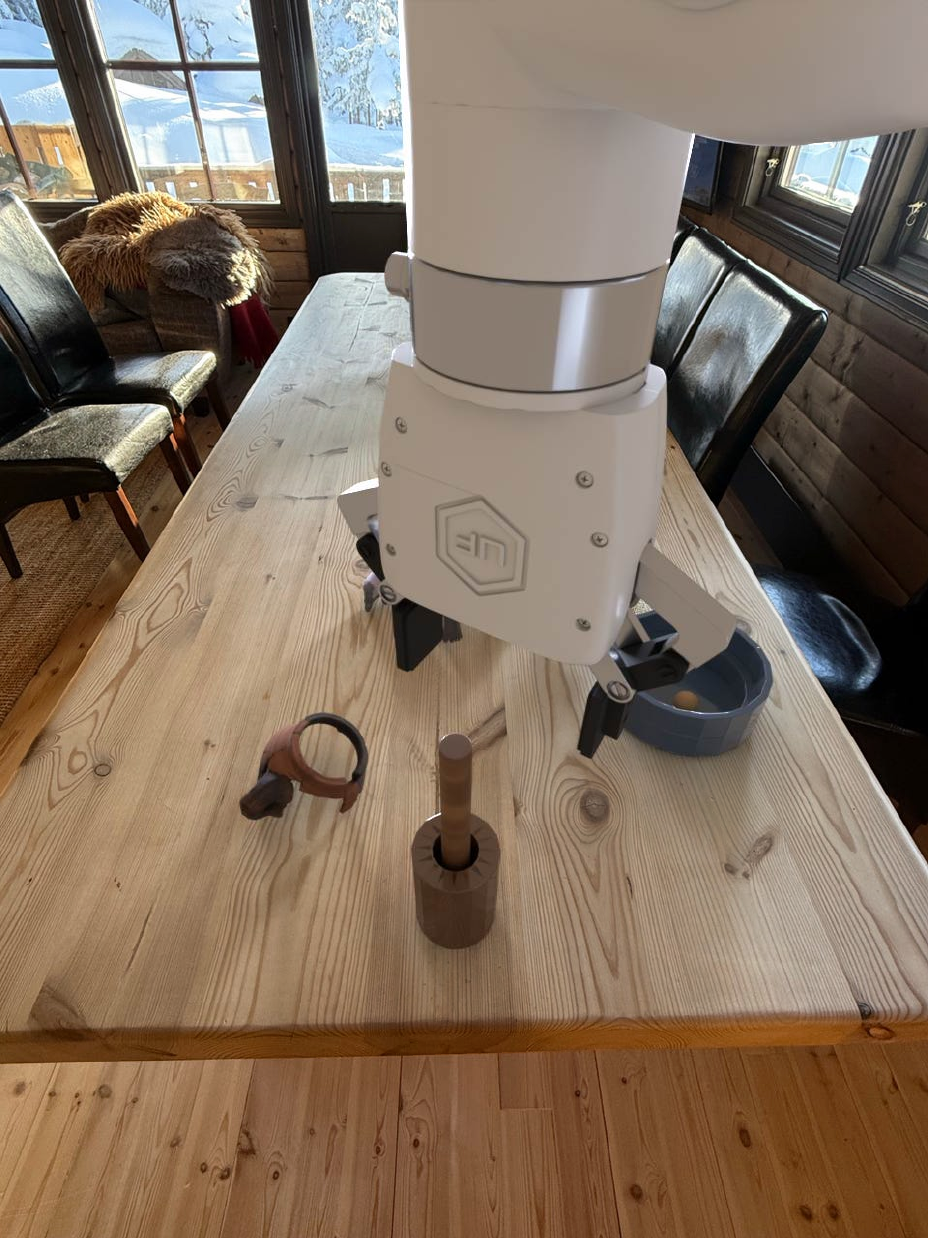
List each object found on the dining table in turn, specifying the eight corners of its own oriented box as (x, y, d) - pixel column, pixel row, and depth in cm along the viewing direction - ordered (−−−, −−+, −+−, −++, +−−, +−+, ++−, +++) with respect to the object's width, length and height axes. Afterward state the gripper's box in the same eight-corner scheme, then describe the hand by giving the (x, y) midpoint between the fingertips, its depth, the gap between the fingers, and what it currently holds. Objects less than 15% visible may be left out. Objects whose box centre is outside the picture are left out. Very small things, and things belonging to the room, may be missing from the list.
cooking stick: (465, 921, 51) (468, 763, 38) (440, 915, 51) (434, 756, 38) (471, 897, 52) (475, 736, 39) (446, 891, 52) (443, 729, 39)
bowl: (761, 774, 62) (781, 733, 58) (596, 742, 64) (605, 701, 60) (747, 661, 73) (764, 621, 69) (608, 639, 76) (616, 598, 72)
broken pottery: (292, 734, 66) (325, 686, 61) (359, 801, 65) (398, 758, 60) (198, 805, 56) (228, 755, 51) (275, 886, 55) (313, 842, 50)
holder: (485, 959, 49) (489, 901, 43) (406, 938, 50) (399, 880, 44) (502, 881, 54) (507, 820, 48) (428, 864, 55) (425, 802, 49)
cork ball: (695, 722, 66) (701, 706, 64) (671, 717, 66) (676, 701, 65) (695, 704, 67) (700, 688, 66) (671, 700, 68) (676, 684, 66)
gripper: (240, 299, 21) (314, 670, 33) (803, 430, 14) (649, 840, 26) (381, 253, 26) (403, 590, 37) (853, 335, 19) (705, 716, 31)
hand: (503, 692), depth 32 cm, fingers open, 9 cm apart
